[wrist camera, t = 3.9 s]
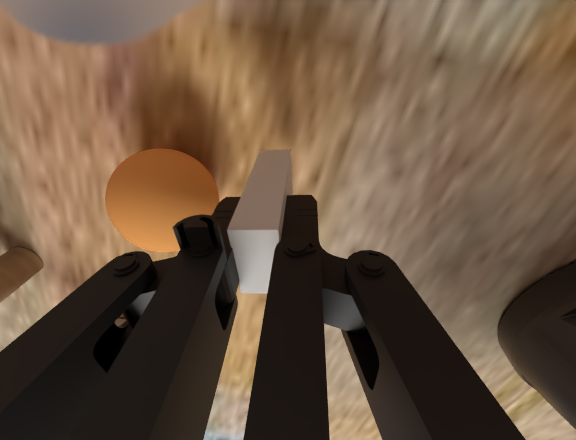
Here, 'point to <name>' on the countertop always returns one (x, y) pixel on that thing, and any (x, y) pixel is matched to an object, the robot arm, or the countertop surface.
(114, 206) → the ball
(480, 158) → the countertop surface
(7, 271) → the post
